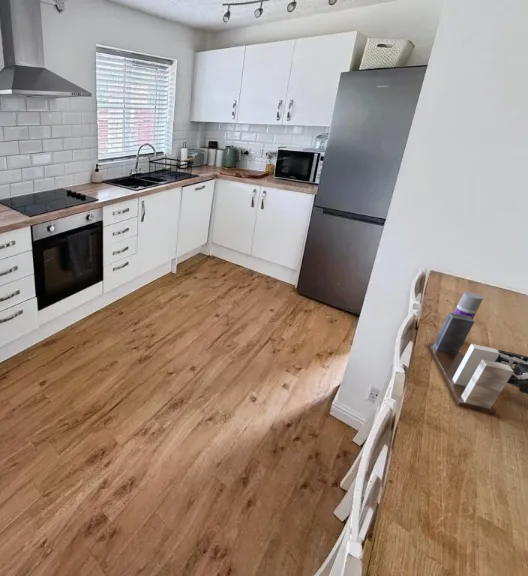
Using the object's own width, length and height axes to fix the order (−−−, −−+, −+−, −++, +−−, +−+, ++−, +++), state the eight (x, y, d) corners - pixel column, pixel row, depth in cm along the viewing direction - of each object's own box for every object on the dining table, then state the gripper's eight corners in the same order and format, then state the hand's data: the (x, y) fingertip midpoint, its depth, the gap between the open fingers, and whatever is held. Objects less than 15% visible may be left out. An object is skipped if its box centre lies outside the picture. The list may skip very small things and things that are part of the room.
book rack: (455, 352, 107) (474, 316, 102) (494, 415, 85) (520, 374, 80) (427, 345, 110) (444, 311, 104) (458, 405, 87) (481, 364, 82)
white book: (475, 384, 93) (496, 349, 88) (478, 389, 91) (500, 353, 86) (452, 379, 94) (471, 343, 90) (454, 383, 93) (474, 348, 88)
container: (458, 343, 112) (481, 300, 105) (440, 336, 115) (461, 293, 108) (463, 339, 114) (486, 296, 107) (446, 332, 117) (466, 290, 111)
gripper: (563, 353, 88) (481, 336, 93) (603, 390, 76) (506, 369, 81) (546, 378, 91) (468, 360, 97) (582, 417, 80) (490, 394, 85)
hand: (485, 364), depth 89 cm, fingers open, 8 cm apart
